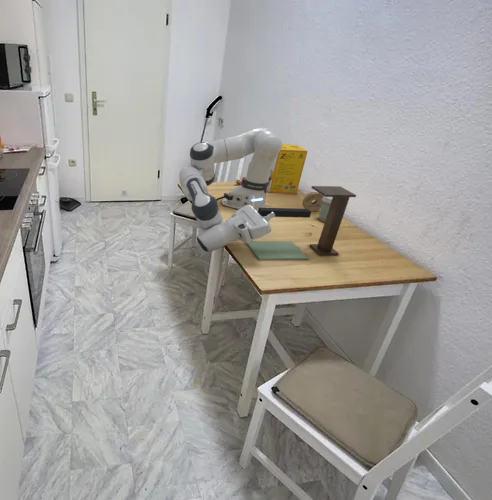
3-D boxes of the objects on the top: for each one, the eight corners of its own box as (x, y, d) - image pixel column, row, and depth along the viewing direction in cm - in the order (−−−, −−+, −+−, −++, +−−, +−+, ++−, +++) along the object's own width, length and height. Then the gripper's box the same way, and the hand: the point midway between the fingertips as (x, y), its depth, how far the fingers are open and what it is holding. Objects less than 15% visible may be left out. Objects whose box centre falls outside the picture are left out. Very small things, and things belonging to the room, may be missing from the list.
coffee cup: (336, 224, 174) (344, 201, 168) (318, 222, 175) (325, 199, 170) (332, 218, 181) (339, 195, 176) (314, 216, 183) (321, 193, 177)
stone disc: (319, 209, 191) (324, 191, 187) (321, 212, 188) (327, 194, 183) (299, 208, 191) (304, 190, 187) (302, 211, 188) (307, 192, 183)
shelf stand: (306, 256, 143) (325, 194, 131) (294, 245, 152) (311, 185, 140) (339, 256, 145) (361, 195, 133) (325, 245, 154) (345, 186, 142)
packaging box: (261, 183, 227) (270, 143, 215) (287, 185, 227) (297, 144, 215) (268, 192, 213) (278, 149, 201) (296, 193, 212) (307, 151, 201)
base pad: (259, 260, 139) (259, 258, 139) (246, 243, 151) (246, 241, 151) (307, 259, 142) (308, 257, 141) (290, 243, 154) (291, 241, 153)
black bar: (260, 216, 137) (261, 210, 135) (257, 213, 139) (258, 207, 138) (309, 217, 139) (311, 211, 138) (305, 214, 142) (307, 208, 141)
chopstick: (246, 193, 208) (247, 192, 207) (236, 181, 229) (236, 179, 228) (250, 194, 208) (250, 192, 207) (239, 181, 229) (239, 179, 228)
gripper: (232, 222, 150) (263, 207, 148) (249, 245, 132) (285, 229, 130) (227, 210, 147) (258, 195, 145) (244, 232, 129) (281, 215, 127)
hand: (271, 211), depth 138 cm, fingers closed on black bar, 3 cm apart
